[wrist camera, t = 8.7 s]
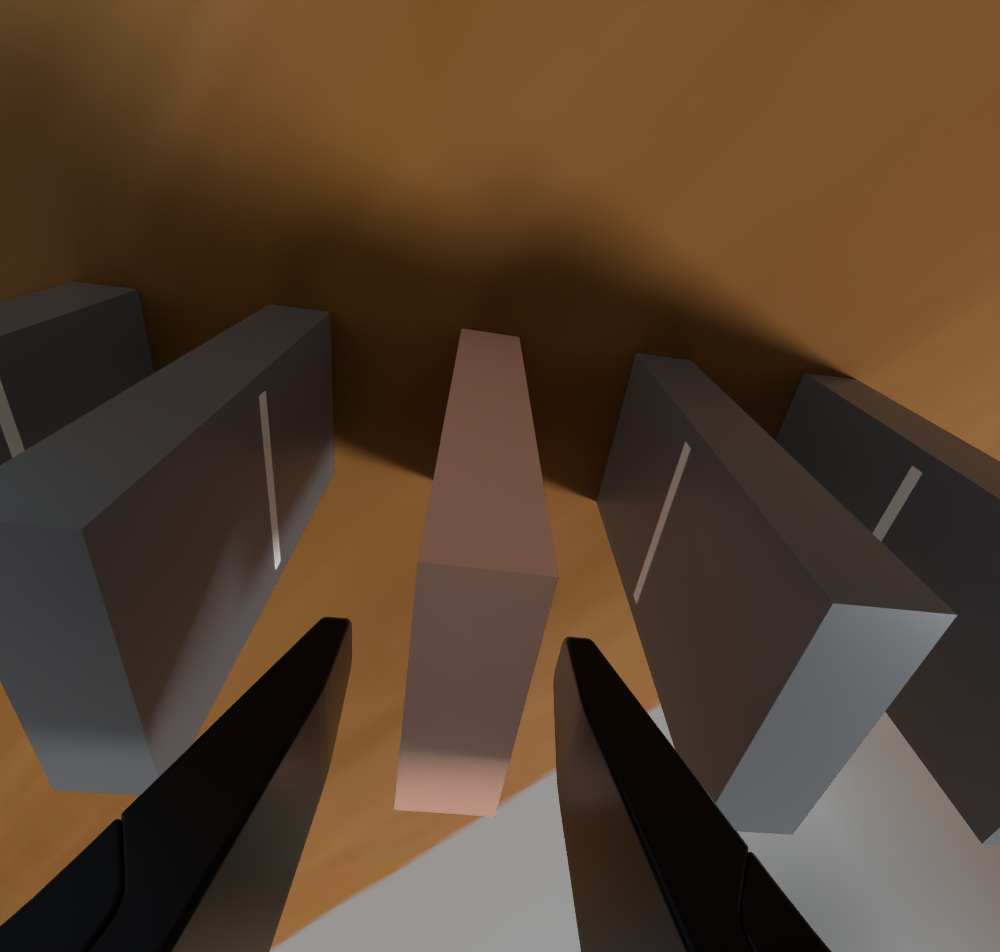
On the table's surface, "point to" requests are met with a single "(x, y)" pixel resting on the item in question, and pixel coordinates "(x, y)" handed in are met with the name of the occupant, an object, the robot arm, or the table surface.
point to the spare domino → (476, 588)
